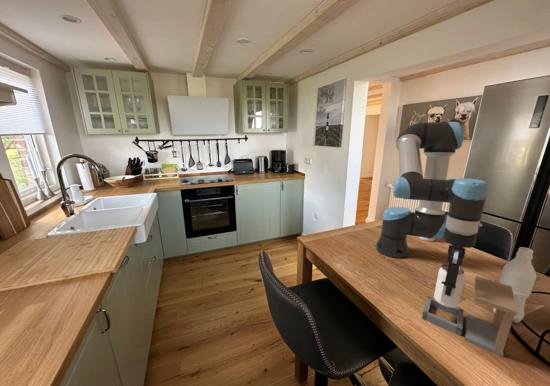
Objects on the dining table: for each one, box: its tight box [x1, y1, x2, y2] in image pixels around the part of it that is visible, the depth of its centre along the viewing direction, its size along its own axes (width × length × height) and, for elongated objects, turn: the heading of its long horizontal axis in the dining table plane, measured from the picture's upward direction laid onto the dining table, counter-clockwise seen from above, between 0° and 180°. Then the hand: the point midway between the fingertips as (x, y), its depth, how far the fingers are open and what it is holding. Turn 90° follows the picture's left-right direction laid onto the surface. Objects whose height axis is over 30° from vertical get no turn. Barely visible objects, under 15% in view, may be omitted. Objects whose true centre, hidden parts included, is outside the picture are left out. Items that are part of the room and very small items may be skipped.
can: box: [433, 263, 466, 308], centre depth 71 cm, size 6×6×12 cm
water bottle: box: [492, 246, 537, 324], centre depth 71 cm, size 7×7×25 cm
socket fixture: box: [421, 275, 517, 358], centre depth 69 cm, size 19×13×15 cm
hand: (446, 296), depth 72 cm, fingers closed on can, 6 cm apart
